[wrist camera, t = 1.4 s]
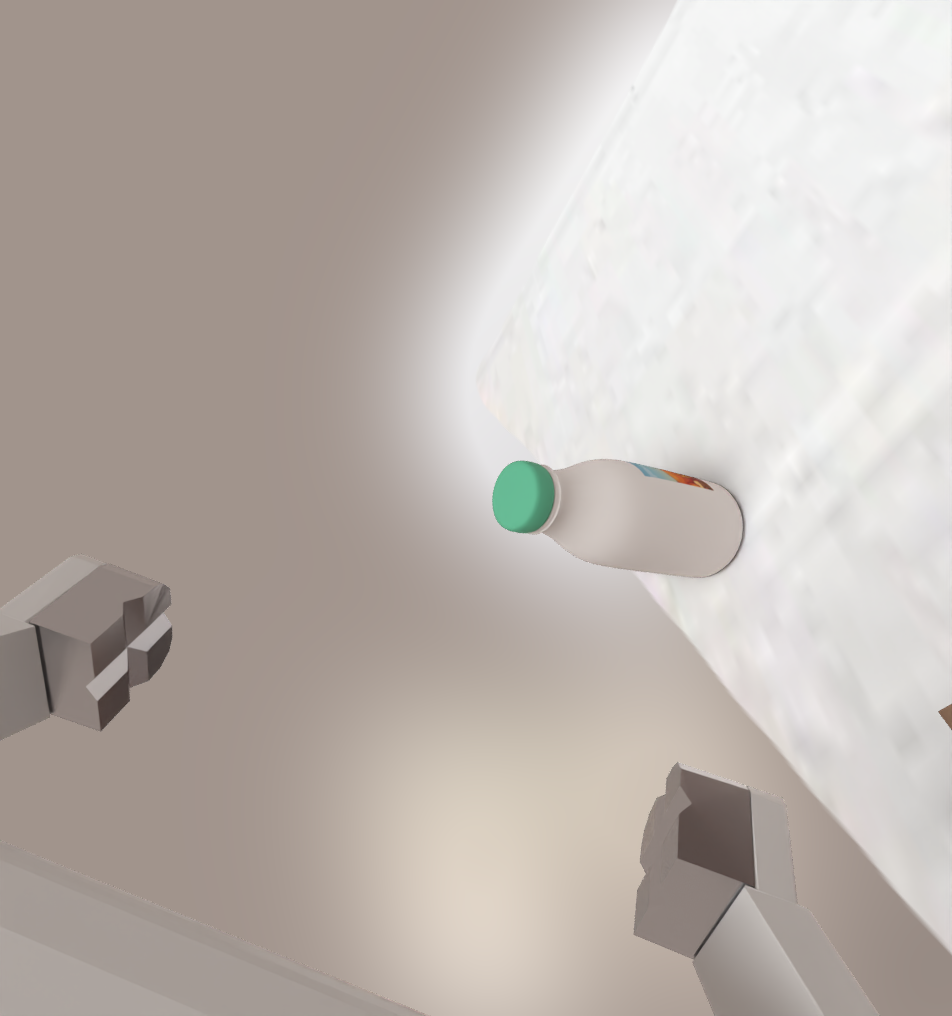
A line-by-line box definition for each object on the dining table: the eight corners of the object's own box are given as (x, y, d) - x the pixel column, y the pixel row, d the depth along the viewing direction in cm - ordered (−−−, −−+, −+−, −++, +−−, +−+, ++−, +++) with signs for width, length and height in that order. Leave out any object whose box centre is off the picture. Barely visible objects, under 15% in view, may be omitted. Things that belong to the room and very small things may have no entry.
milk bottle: (765, 515, 55) (573, 472, 43) (711, 598, 58) (516, 580, 46) (695, 464, 61) (508, 414, 49) (649, 543, 64) (460, 513, 52)
